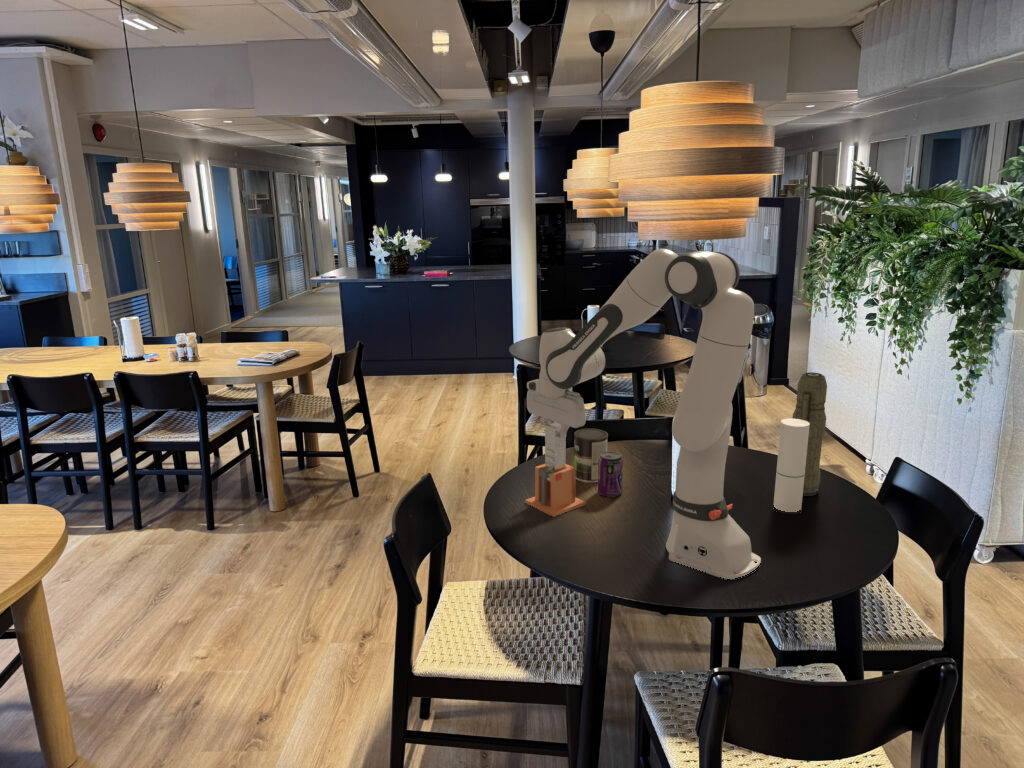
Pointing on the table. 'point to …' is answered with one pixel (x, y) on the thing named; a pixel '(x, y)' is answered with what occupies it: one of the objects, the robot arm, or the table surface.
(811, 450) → the thermos
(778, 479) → the cylindrical container
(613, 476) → the beverage can
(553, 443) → the column
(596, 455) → the coffee can
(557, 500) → the stand base
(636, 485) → the table surface
